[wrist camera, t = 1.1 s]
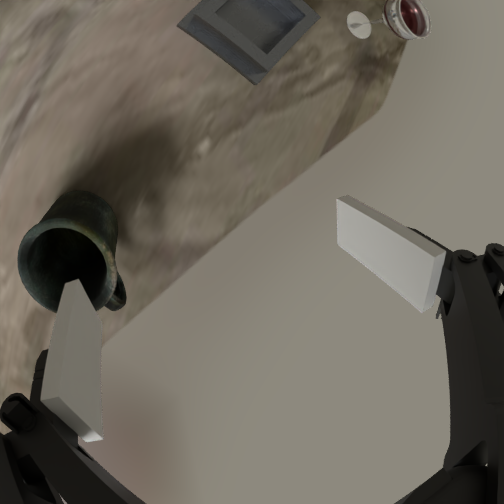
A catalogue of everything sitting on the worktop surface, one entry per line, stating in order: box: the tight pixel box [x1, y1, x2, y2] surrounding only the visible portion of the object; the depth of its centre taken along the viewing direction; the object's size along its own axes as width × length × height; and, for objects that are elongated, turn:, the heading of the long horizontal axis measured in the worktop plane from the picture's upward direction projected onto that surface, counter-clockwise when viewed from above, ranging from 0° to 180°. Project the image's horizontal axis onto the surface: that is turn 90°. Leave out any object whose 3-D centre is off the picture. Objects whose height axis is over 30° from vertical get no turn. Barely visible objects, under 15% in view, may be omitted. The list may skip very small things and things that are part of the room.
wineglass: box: [347, 0, 431, 40], centre depth 30 cm, size 7×7×12 cm
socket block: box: [177, 0, 320, 85], centre depth 28 cm, size 13×13×5 cm
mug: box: [18, 191, 126, 313], centre depth 31 cm, size 11×15×12 cm
